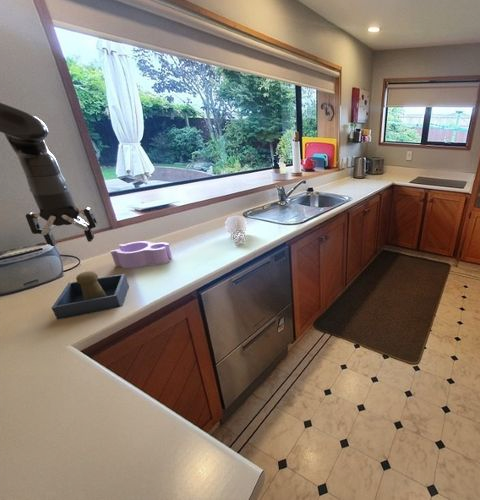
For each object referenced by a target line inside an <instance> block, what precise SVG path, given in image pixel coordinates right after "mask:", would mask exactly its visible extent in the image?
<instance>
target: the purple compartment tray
mask: <svg viewBox="0 0 480 500" xmlns="http://www.w3.org/2000/svg"><path fill="white" fill-rule="evenodd" d="M118 246H119V248H117V249H112V250H110V254H111V257H112V260H113V263H114V266H115V267H122V268H123V269H124V268H125V269H137V268H142V267H145V266H150V265H155V266H157V265H158V266H159V265H164V264H168V263H169V262H170V260H171V259H173V256H172V251H171V247H170V243H168V242H163V241H161V242H150V241H146V240H145V241H144V240H143V241H132V242H129V243H119V244H118Z"/></svg>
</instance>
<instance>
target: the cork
mask: <svg viewBox="0 0 480 500" xmlns="http://www.w3.org/2000/svg"><path fill="white" fill-rule="evenodd" d="M98 278H99V275H98V273H97V272H96V271H91V270H87V271H83V272H81V273H79V274H77V275H76V278H75V280H76V282H78V283H79V284H80V285H81V288H82V293H83V297H84V301H85V300H90V299H96V298H101V297H106V296H107V295H106V294H105V292H104V291H103V289H102V287H101V286H100V284H99V283H98V281H97V279H98Z"/></svg>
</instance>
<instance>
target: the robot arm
mask: <svg viewBox="0 0 480 500" xmlns="http://www.w3.org/2000/svg"><path fill="white" fill-rule="evenodd" d="M0 133H2V134H3V135H4V136H5V139H6V140H7V142H8V143H9V145H10V147H11V148H12V150H13V151H14V153H15V154H16V156H17V158H18V161H19V164H20V167H21V169H22V171H23V173H24V176H25V178H26V182H27V185H28V188H29V191H30V193H31V194H32V196H33V199H34V201H35V204H36V206H37V208H38V210H39V212H34V211H30V212H28V213H26V214H25V218H26V221H27V224H28V226H29V229H30V231H31V233H32V234H33V235H41V236H43V238H44V240H45V241H46V243H47V245H48V246H50V247H55V246H57V241H56V238H55V235H54V233H53V232H51V231H52V229H53V228H54V226H56V227H61V226H71V225H74V226H76V227H78V228H80V229H82V230H83V233H84V235H85V238H86V240H87V242H88V243H91V242H92V241H94V238H95V235H94V232H93V230H92V229H94V228H96V227H97V226H98V221H97V218H96V217H95V214H94V212H93V210H92V208H91V207H89V206H87V207H84V208H77V206H76V204H75V201H74V199H73V196H72V194H71V191H70V189H69V186H68V184H67V181H66V179H65V177H64V176H63V174H62V171H61V169H60V166H59V163H58V161H57V159H56V157H55V156H54V154H53V153H51V152H50V150H49V149H48V146H47V144H46V142H45V140H46V139H47V138H48V136H49V129H48V127H47V125H46V124H45V122H44V121H42V120H41V119H40V118H38V117H37V116H35V115H33V114H31V113H29V112H26V111H24V110H21V109H18V108H16V107H13V106H11V105H8V104H5V103H2V102H0ZM80 214H81V215H82V216H83V217H85V218H86V220H87V222H86V221H85V220H84V219H82V218H81V217H80V216H79V215H80ZM40 218H42V219H43V220H45V221H46V223H45V225H44V227H43V228H41V224H40V222H39V219H40Z"/></svg>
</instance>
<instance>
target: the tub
mask: <svg viewBox="0 0 480 500" xmlns="http://www.w3.org/2000/svg"><path fill="white" fill-rule="evenodd" d="M97 281H98V283H99V284H100V286H101V287H102V289H103V291H104V292H105V294H106V295H107V296H106V297H101V298H96V299H90V300H85V301H84V297H83V293H82V288H81V285H80V284H79V283H78V282H77V281H72V282H68V283H67V285H66V286H65V288H63V290H62V292H61V293H60V295H59V296H58V298H57V299H56V301H54V303H53V305H52V306H51V310H52V313H53V314H54V316H55V318H56V320H57V321H60V320H63V319H69V318H74V317H79V316H83V315H88V314H93V313H97V312H103V311H108V310H113V309H118V308H122V307H123V306H124V303H125V300H126V298H127V297H126V296H127V294H128V291H129V288H130V285H129V281H128V279H127V276H126V274H125V273H121V274H115V275H108V276H103V277H98V279H97Z"/></svg>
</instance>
